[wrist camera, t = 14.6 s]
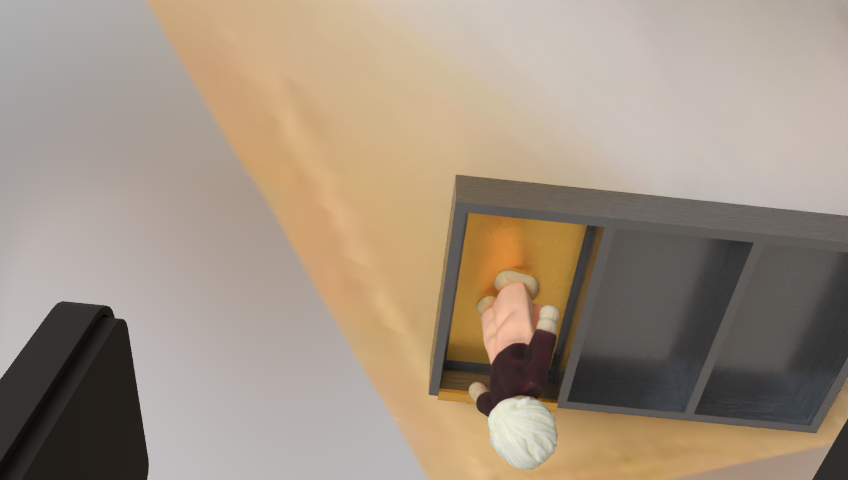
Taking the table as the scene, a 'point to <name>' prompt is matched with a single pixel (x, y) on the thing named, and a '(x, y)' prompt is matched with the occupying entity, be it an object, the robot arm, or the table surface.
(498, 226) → the tray
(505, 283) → the grandmother figurine
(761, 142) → the table surface
